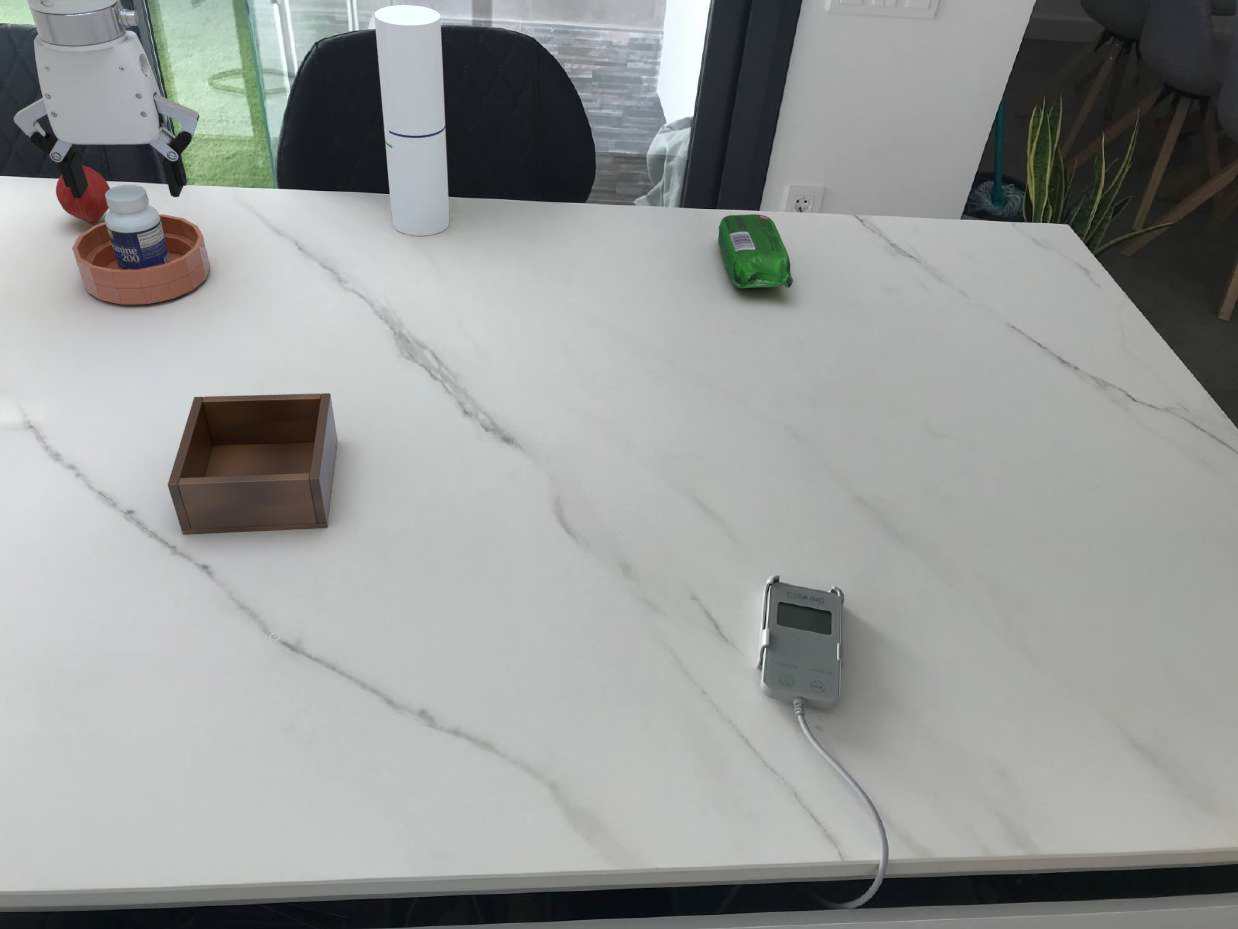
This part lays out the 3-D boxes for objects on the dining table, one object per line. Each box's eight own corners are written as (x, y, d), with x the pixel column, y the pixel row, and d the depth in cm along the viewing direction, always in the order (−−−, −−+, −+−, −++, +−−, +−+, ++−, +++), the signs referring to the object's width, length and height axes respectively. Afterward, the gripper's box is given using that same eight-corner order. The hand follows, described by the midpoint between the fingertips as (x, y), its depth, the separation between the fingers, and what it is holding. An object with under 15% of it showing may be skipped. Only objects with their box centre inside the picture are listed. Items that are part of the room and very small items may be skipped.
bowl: (70, 308, 104) (57, 272, 101) (101, 248, 114) (90, 214, 111) (198, 306, 106) (190, 271, 103) (218, 248, 116) (211, 214, 113)
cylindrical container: (424, 241, 121) (410, 29, 104) (380, 224, 123) (360, 14, 107) (460, 220, 125) (453, 14, 109) (417, 204, 128) (404, 0, 112)
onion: (56, 223, 118) (35, 159, 112) (99, 207, 121) (81, 144, 116) (85, 238, 115) (65, 174, 110) (129, 222, 119) (111, 159, 114)
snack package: (731, 305, 114) (738, 265, 111) (711, 239, 126) (717, 202, 123) (790, 306, 115) (799, 267, 112) (765, 241, 127) (772, 204, 124)
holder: (182, 534, 81) (167, 484, 77) (206, 444, 89) (193, 396, 86) (327, 527, 82) (319, 478, 79) (337, 440, 91) (330, 392, 87)
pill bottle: (110, 275, 109) (86, 193, 103) (151, 256, 112) (129, 176, 106) (143, 291, 107) (120, 208, 101) (183, 271, 111) (163, 191, 104)
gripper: (183, 11, 96) (221, 175, 108) (-6, 9, 94) (52, 177, 105) (168, 37, 91) (209, 207, 102) (-34, 35, 88) (31, 210, 100)
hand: (130, 192), depth 104 cm, fingers open, 9 cm apart
